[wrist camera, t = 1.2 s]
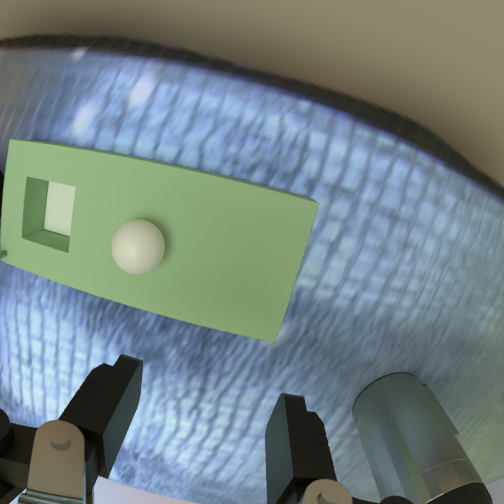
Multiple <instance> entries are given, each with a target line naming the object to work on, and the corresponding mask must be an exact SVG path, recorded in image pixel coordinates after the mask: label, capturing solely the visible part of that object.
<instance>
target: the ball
mask: <svg viewBox="0 0 504 504" xmlns="http://www.w3.org/2000/svg"><path fill="white" fill-rule="evenodd" d="M111 251H112V256H113V258H114V261H115V262H116V264H117V265H118V266H119V267H120V268H121V269H122V270H124V271H125V272H127V273H130V274H134V275H142V274H146V273H149V272H151V271H152V270H154V269H155V268H156V267H157V266H158V265H159V264H160V262H161V261H162V259H163V256H164V252H165V241H164V238H163V235H162V233H161V232H160V230H159V229H158V228H157V227H156V226H155V225H154V224H152V223H151V222H149V221H146V220H142V219H135V220H130V221H128V222H126V223H124V224H122V225H121V226H120V227H119V228H118V229H117V231H116V232H115V234H114V236H113V239H112V243H111Z"/></svg>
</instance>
